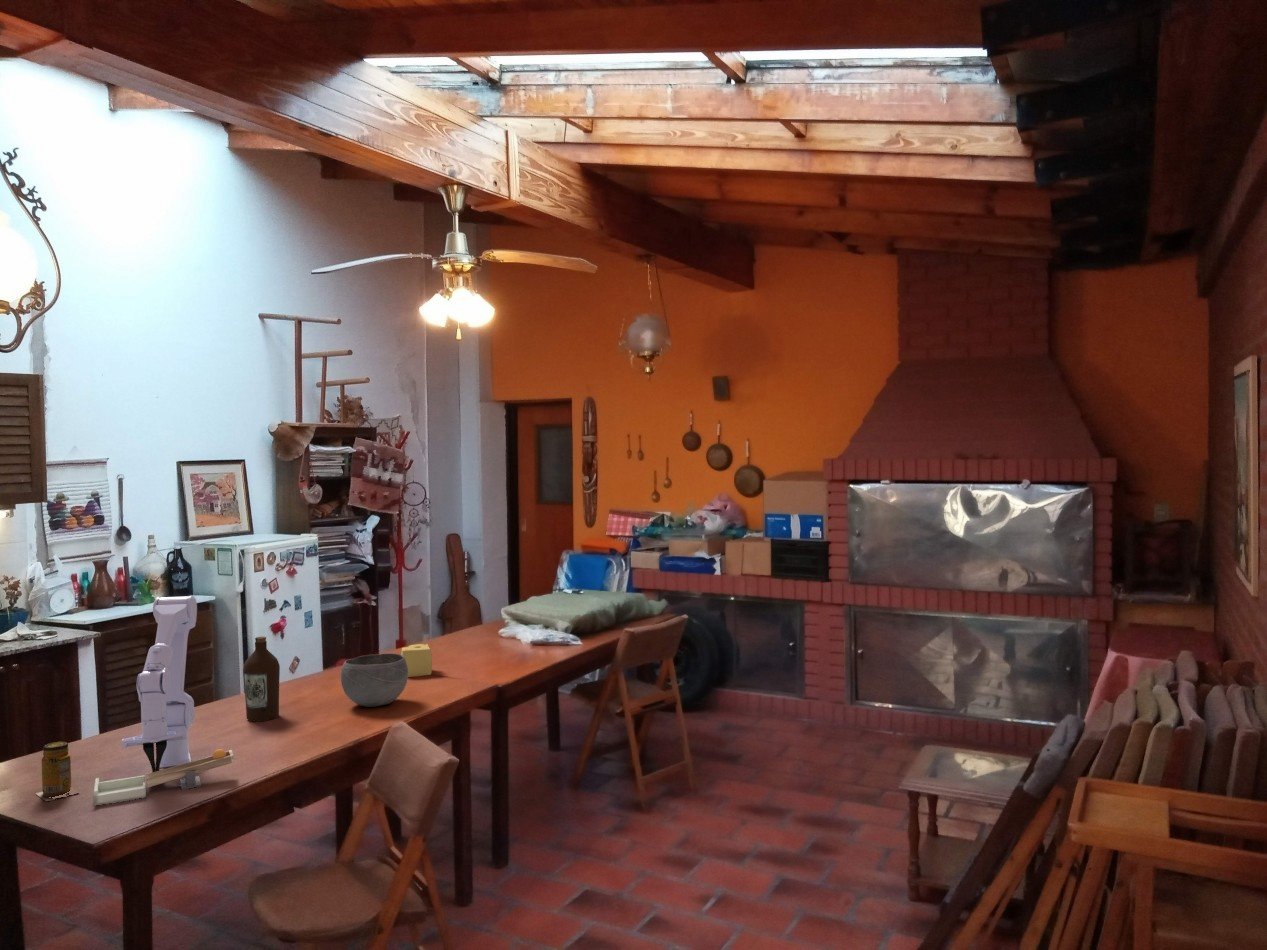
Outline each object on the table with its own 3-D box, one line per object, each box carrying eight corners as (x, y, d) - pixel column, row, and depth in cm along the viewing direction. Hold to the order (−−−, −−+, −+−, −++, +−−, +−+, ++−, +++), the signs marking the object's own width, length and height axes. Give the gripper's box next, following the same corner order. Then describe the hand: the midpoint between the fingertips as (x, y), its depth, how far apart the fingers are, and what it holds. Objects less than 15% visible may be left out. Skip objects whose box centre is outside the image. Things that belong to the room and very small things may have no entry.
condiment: (68, 786, 239) (66, 738, 239) (79, 794, 233) (78, 745, 233) (35, 794, 234) (33, 745, 234) (46, 802, 228) (44, 752, 228)
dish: (96, 792, 234) (95, 778, 234) (145, 784, 239) (144, 770, 239) (94, 806, 225) (94, 791, 225) (145, 797, 230) (145, 783, 230)
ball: (218, 761, 243) (210, 753, 242) (228, 753, 244) (220, 745, 243) (219, 765, 241) (210, 757, 240) (229, 756, 242) (220, 748, 241)
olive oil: (254, 712, 304) (252, 634, 304) (287, 712, 303) (284, 634, 303) (237, 722, 294) (235, 640, 293) (271, 722, 293) (268, 640, 292)
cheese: (400, 671, 357) (399, 645, 357) (430, 669, 361) (429, 642, 360) (402, 678, 347) (401, 650, 347) (432, 675, 351) (432, 648, 350)
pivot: (180, 781, 241) (179, 764, 241) (199, 778, 243) (198, 761, 243) (181, 789, 235) (180, 773, 235) (201, 786, 237) (200, 769, 237)
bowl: (417, 696, 321) (416, 651, 320) (395, 713, 300) (394, 666, 299) (356, 695, 323) (355, 651, 323) (330, 713, 302) (329, 665, 302)
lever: (147, 775, 242) (146, 767, 242) (231, 751, 251) (229, 743, 251) (148, 788, 232) (146, 780, 232) (234, 762, 241) (233, 755, 241)
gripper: (121, 726, 234) (122, 781, 235) (186, 717, 241) (188, 771, 241) (121, 719, 241) (123, 773, 241) (185, 711, 247) (186, 763, 248)
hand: (155, 771), depth 242 cm, fingers closed, pressing on lever
